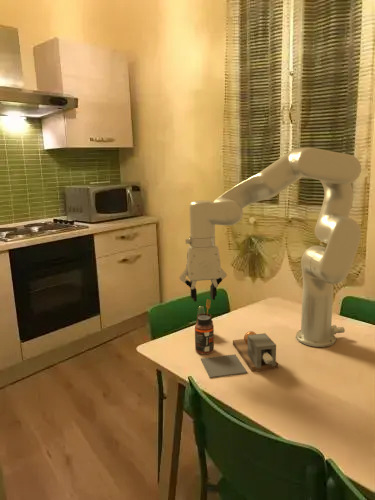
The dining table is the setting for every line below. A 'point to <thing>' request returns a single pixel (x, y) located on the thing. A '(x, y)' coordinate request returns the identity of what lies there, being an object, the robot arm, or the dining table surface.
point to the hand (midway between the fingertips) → (203, 298)
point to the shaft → (264, 353)
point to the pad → (223, 366)
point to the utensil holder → (204, 311)
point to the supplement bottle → (204, 335)
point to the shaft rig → (256, 351)
